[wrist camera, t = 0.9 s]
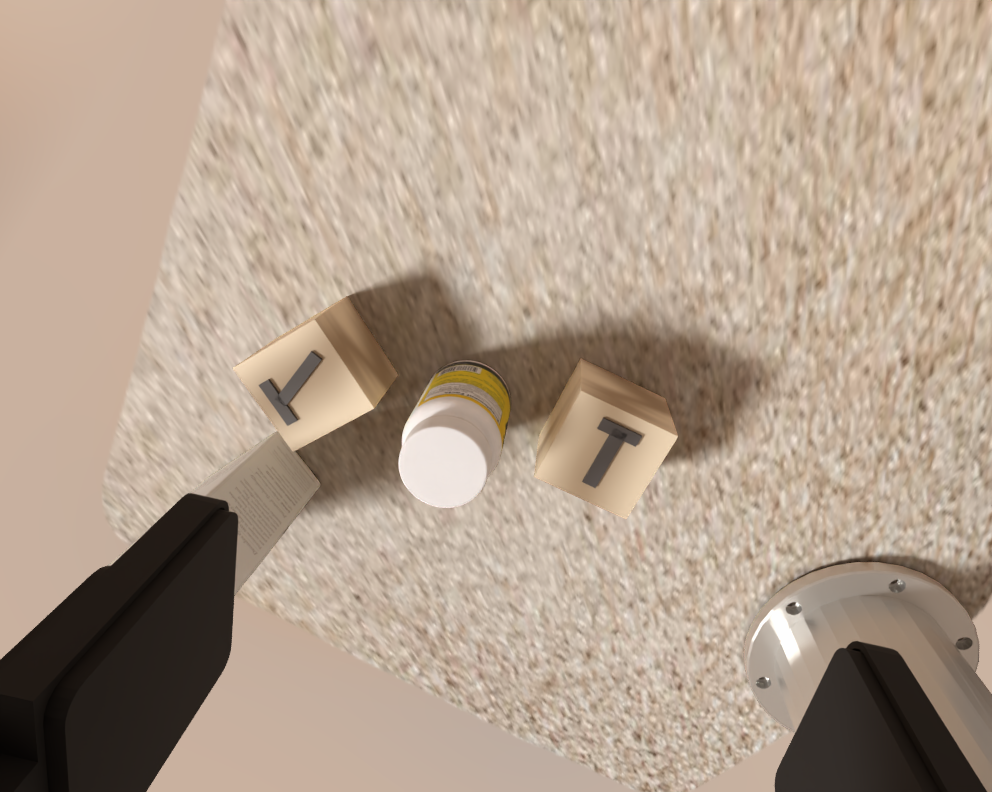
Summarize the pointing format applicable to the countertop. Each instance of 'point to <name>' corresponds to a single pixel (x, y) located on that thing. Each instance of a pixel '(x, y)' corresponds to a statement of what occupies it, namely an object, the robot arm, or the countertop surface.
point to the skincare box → (260, 498)
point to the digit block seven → (318, 375)
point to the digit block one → (604, 439)
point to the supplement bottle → (455, 434)
